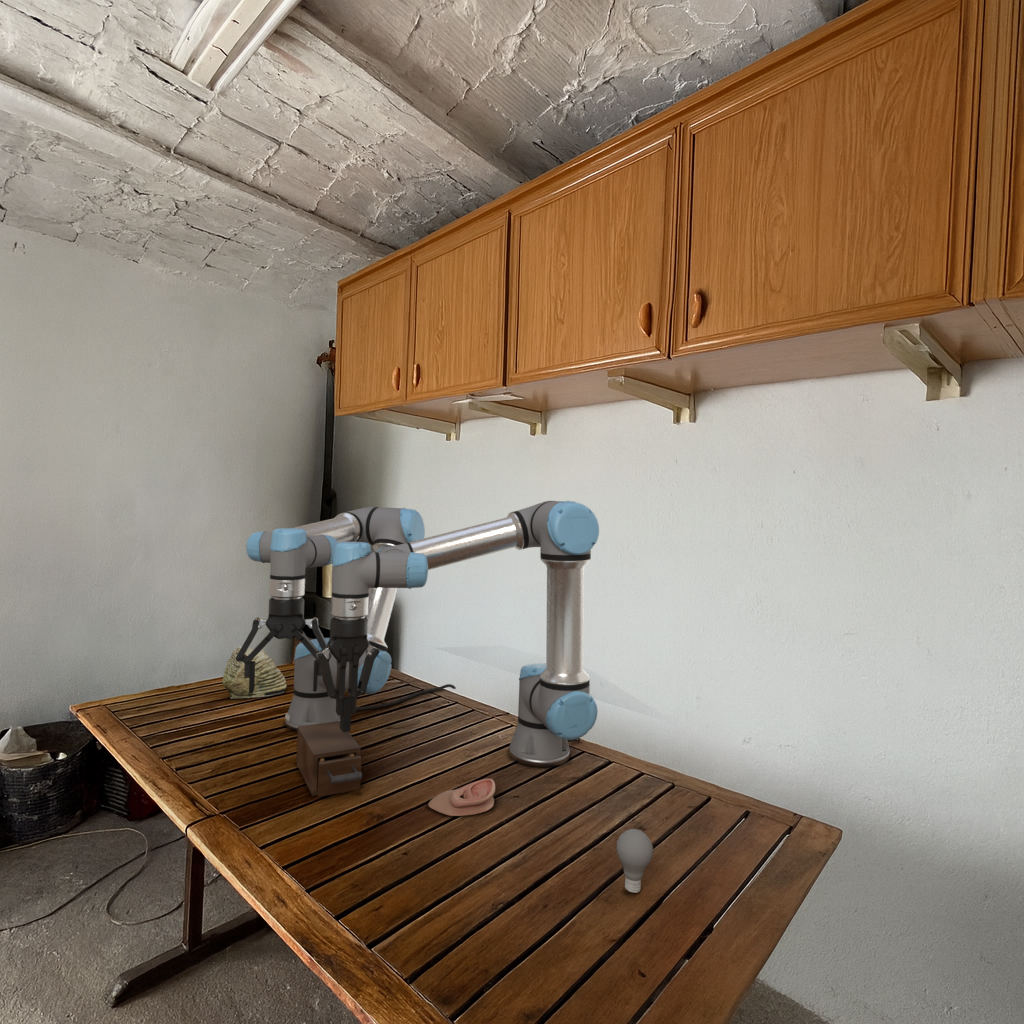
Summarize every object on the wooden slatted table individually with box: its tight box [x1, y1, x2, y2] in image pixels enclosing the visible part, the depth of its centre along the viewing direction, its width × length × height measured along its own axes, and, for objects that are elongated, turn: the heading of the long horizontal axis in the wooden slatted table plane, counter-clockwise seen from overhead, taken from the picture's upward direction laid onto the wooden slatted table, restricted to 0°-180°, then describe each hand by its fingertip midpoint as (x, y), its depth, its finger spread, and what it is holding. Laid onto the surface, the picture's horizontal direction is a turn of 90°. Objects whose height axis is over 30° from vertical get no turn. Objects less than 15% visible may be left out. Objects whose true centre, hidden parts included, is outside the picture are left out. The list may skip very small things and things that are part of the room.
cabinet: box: [295, 721, 362, 797], centre depth 144 cm, size 18×10×9 cm, turn 29°
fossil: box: [222, 646, 288, 699], centre depth 198 cm, size 9×18×15 cm, turn 132°
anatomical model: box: [427, 778, 496, 817], centre depth 133 cm, size 13×4×12 cm
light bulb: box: [615, 828, 654, 894], centre depth 106 cm, size 6×6×10 cm
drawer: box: [316, 753, 363, 798], centre depth 139 cm, size 22×9×7 cm, turn 29°
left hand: (283, 690), depth 143 cm, fingers open, 13 cm apart
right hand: (345, 729), depth 131 cm, fingers closed
